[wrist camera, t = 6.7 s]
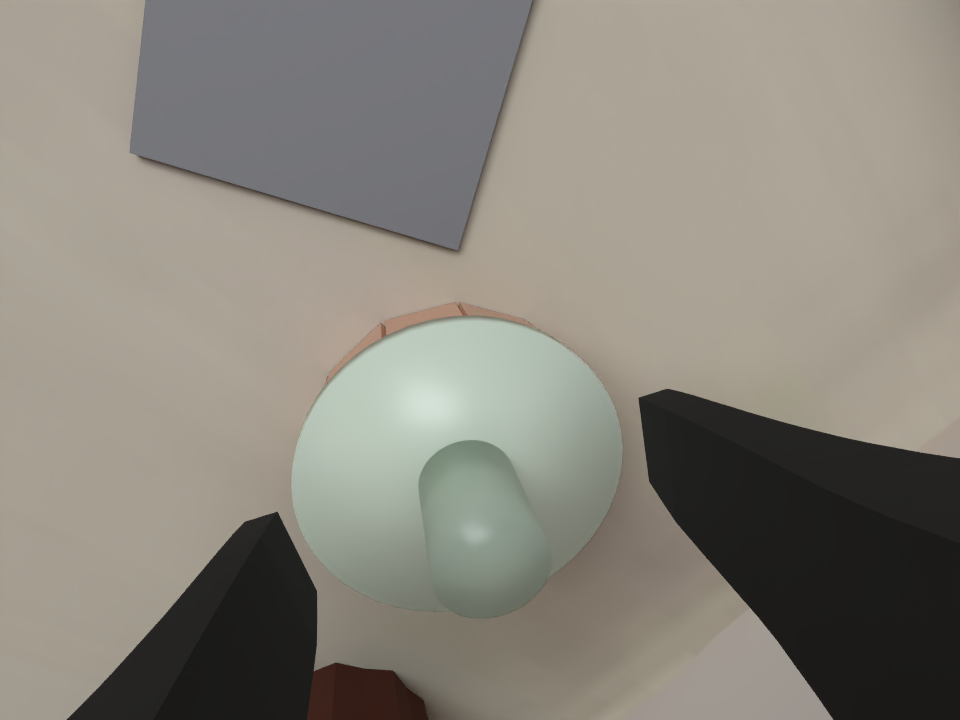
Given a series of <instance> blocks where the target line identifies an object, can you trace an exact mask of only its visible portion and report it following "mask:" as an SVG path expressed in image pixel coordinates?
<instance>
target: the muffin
mask: <svg viewBox="0 0 960 720" xmlns="http://www.w3.org/2000/svg"><path fill="white" fill-rule="evenodd" d="M307 720H428V717H427V713H426V709H425V705H424V701H423V700H422V699H421V698H420V697H418V696H417V695H416V694H414V693H413V692H412V691H410V690H409V689H408V688H406V686H405V685H404V684H403V683H402V682H401V680H400V679H399V678H398V677H397V675H396V674H395V673H394V672H393V671H390V670H375V669H363V668H358V667H353V666H349V665H344V664H340V663H334V664H331V665H329V666H326V667H324V668H321V669H319V670H316V671H314V672H313V678H312V686H311V694H310V701H309V708H308V715H307Z"/></svg>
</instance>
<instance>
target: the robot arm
mask: <svg viewBox="0 0 960 720" xmlns="http://www.w3.org/2000/svg"><path fill="white" fill-rule="evenodd" d="M639 405H640V413H641V421H642V429H643V437H644V445H645V452H646V460H647V468H648V476H649V482H650V483H651V485H652V486H653V488H654V489H655V491H656V493H657V494H658V496H659V497H660V499H661V500H662V502H663V503H664V505H665V506H666V508H667V509H668V511H669V512H670V514H671V515H672V517H673V518H674V520H675V521H676V523H677V524H678V525H679V526H680V527H681V529H682V530H683V531H684V532H685V533H686V534H687V536H688V537H689V538H690V539H691V540H692V541H693V543H694V544H695V545H696V546H697V547H698V548H699V550H700V551H701V552H702V553H703V554H704V555H705V557H706V558H707V559H708V560H709V561H710V562H711V563H712V565H713V566H714V567H715V568H716V569H717V570H718V571H719V573H720V574H721V575H722V576H723V577H724V578H725V580H726V581H727V582H728V583H729V584H730V585H731V586H732V588H733V589H734V590H735V591H736V592H737V593H738V594H739V596H740V597H741V598H742V599H743V600H744V601H745V602H746V604H747V605H748V606H749V607H750V608H751V609H752V611H753V612H754V613H755V614H756V615H757V616H758V617H759V619H760V620H761V621H762V622H763V624H764V625H765V626H766V627H767V629H768V630H769V631H770V632H771V634H772V635H773V636H774V637H775V639H776V640H777V641H778V642H779V644H780V645H781V646H782V648H783V649H784V651H785V652H786V653H787V655H788V656H789V658H790V659H791V660H792V662H793V663H794V665H795V666H796V667H797V669H798V670H799V671H800V673H801V674H802V676H803V677H804V678H805V680H806V681H807V683H808V684H809V685H810V687H811V688H812V690H813V691H814V692H815V694H816V695H817V697H818V698H819V699H820V701H821V702H822V704H823V705H824V707H825V708H826V710H827V711H828V712H829V714H830V715H831V717H832V718H833V720H960V458H952V457H946V456H940V455H933V454H926V453H920V452H915V451H909V450H904V449H898V448H893V447H888V446H882V445H877V444H871V443H866V442H862V441H857V440H852V439H848V438H843V437H839V436H835V435H831V434H827V433H823V432H819V431H815V430H811V429H807V428H802V427H799V426H795V425H791V424H788V423H784V422H780V421H777V420H773V419H770V418H766V417H763V416H759V415H756V414H753V413H749V412H746V411H743V410H739V409H736V408H733V407H730V406H726V405H723V404H720V403H717V402H713V401H710V400H707V399H704V398H700V397H697V396H693V395H690V394H686V393H683V392H679V391H675V390H670V389H665V390H662V391H659V392H656V393H652V394H649V395H646V396H643V397H640V398H639ZM316 647H317V590H316V588H315V586H314V584H313V582H312V580H311V578H310V576H309V574H308V572H307V570H306V568H305V566H304V564H303V562H302V560H301V558H300V556H299V554H298V552H297V550H296V548H295V546H294V544H293V542H292V540H291V538H290V536H289V534H288V532H287V530H286V528H285V526H284V524H283V522H282V520H281V518H280V516H279V514H278V512H275V513H272V514H269V515H265V516H262V517H259V518H256V519H253V520H250V521H246V522H244V523H243V524H242V525H241V526H240V527H239V528H238V530H237V531H236V532H235V533H234V534H233V535H232V536H231V537H230V538H229V540H228V541H227V542H226V543H225V544H224V545H223V546H222V548H221V549H220V550H219V551H218V552H217V554H216V555H215V556H214V557H213V558H212V560H211V561H210V562H209V563H208V564H207V565H206V567H205V568H204V569H203V570H202V571H201V573H200V574H199V575H198V576H197V577H196V579H195V580H194V581H193V582H192V583H191V585H190V586H189V587H188V588H187V589H186V590H185V592H184V593H183V594H182V595H181V596H180V598H179V599H178V600H177V601H176V602H175V603H174V605H173V606H172V607H171V608H170V609H169V611H168V612H167V613H166V614H165V615H164V616H163V618H162V619H161V620H160V621H159V622H158V623H157V624H156V625H155V626H154V627H153V629H152V630H151V631H150V632H149V633H148V634H147V635H146V636H145V637H144V639H143V640H142V641H141V642H140V643H139V644H138V645H137V646H136V647H135V649H134V650H133V651H132V652H131V653H130V654H129V655H128V656H127V657H126V658H125V660H124V661H123V662H122V663H121V664H120V665H119V666H118V667H117V668H116V670H115V671H114V672H113V673H112V674H111V675H110V676H109V677H108V678H107V679H106V680H105V681H104V682H103V683H102V684H101V686H100V687H99V688H98V689H97V690H96V691H95V692H94V693H93V694H92V695H91V696H90V697H89V698H88V699H87V700H86V701H85V702H84V703H83V704H82V705H81V706H80V707H79V708H78V709H77V710H76V711H75V712H74V713H73V714H72V715H71V716H70V717H69V718H68V719H67V720H307V715H308V708H309V701H310V694H311V686H312V678H313V671H314V663H315V655H316Z"/></svg>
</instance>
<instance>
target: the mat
mask: <svg viewBox="0 0 960 720" xmlns="http://www.w3.org/2000/svg"><path fill="white" fill-rule="evenodd" d="M532 1H533V0H146V1H145V10H144V20H143V29H142V39H141V48H140V58H139V67H138V77H137V86H136V96H135V105H134V115H133V124H132V134H131V143H130V153H132V154H135V155H139V156H142V157H145V158H149V159H152V160H155V161H159V162H162V163H166V164H169V165H172V166H176V167H179V168H182V169H186V170H189V171H192V172H196V173H199V174H202V175H206V176H209V177H212V178H216V179H219V180H223V181H226V182H229V183H233V184H236V185H239V186H243V187H246V188H249V189H253V190H256V191H259V192H263V193H266V194H269V195H273V196H276V197H280V198H283V199H286V200H290V201H293V202H296V203H300V204H303V205H306V206H310V207H313V208H316V209H320V210H323V211H327V212H330V213H333V214H337V215H340V216H343V217H347V218H350V219H353V220H357V221H360V222H363V223H367V224H370V225H373V226H377V227H380V228H384V229H387V230H390V231H394V232H397V233H400V234H404V235H407V236H410V237H414V238H417V239H420V240H424V241H427V242H431V243H434V244H437V245H441V246H444V247H447V248H451V249H454V250H457V251H458V248H459V245H460V241H461V238H462V235H463V231H464V228H465V225H466V221H467V218H468V215H469V211H470V208H471V205H472V201H473V198H474V195H475V191H476V188H477V185H478V181H479V178H480V175H481V171H482V168H483V165H484V161H485V158H486V155H487V151H488V148H489V145H490V141H491V138H492V134H493V131H494V128H495V124H496V121H497V118H498V114H499V111H500V108H501V104H502V101H503V98H504V94H505V91H506V88H507V84H508V81H509V78H510V74H511V71H512V68H513V64H514V61H515V58H516V54H517V51H518V48H519V44H520V41H521V38H522V34H523V31H524V27H525V24H526V21H527V17H528V14H529V11H530V7H531V4H532Z"/></svg>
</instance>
